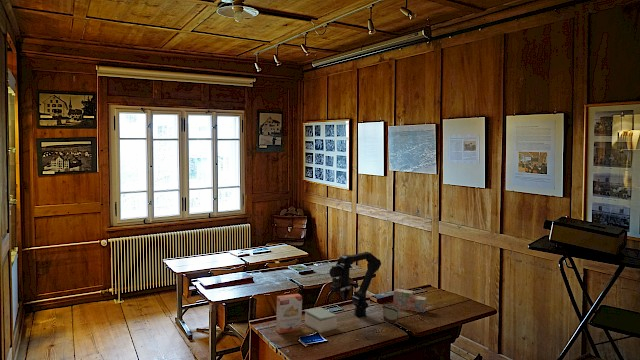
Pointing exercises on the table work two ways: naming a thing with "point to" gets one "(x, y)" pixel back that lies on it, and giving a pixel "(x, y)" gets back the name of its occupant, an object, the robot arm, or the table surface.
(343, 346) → the table surface
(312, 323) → the chest
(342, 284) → the robot arm
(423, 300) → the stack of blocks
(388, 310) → the food container
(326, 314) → the chest lid
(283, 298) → the cracker box
